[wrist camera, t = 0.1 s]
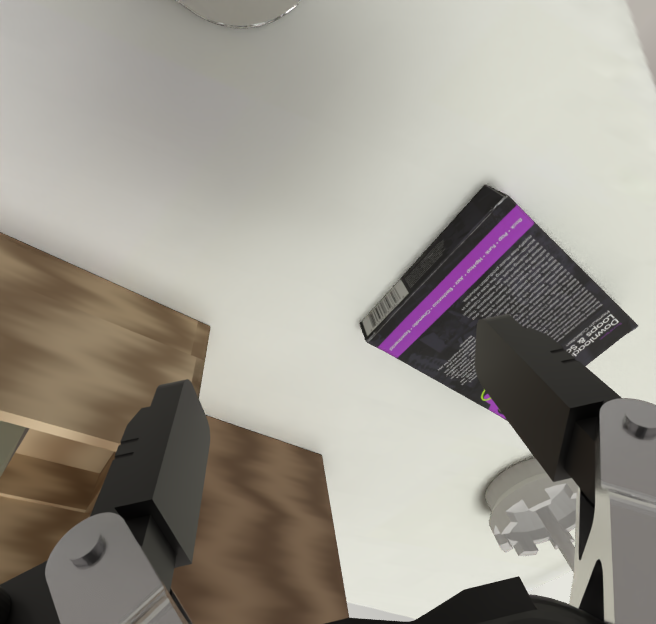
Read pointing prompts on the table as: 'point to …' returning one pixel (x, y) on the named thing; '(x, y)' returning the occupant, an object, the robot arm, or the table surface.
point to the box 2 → (490, 296)
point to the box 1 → (9, 442)
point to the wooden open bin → (74, 389)
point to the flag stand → (532, 510)
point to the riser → (262, 536)
